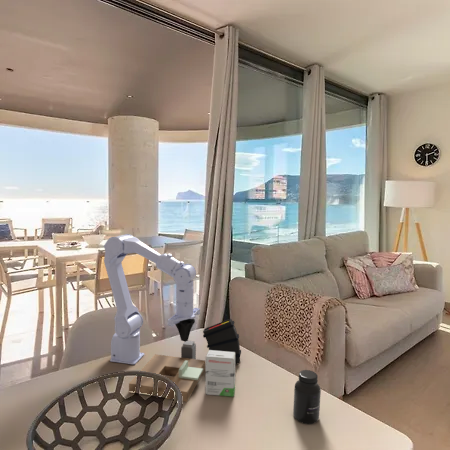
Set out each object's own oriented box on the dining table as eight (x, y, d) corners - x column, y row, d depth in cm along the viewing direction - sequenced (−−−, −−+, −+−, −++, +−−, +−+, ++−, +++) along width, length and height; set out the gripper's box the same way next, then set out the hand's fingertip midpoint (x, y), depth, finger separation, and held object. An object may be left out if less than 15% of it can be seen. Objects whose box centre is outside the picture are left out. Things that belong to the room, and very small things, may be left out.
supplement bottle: (314, 428, 89) (316, 384, 88) (289, 419, 93) (291, 376, 91) (322, 414, 95) (324, 372, 94) (298, 405, 98) (300, 365, 97)
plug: (181, 363, 121) (181, 344, 120) (184, 358, 125) (185, 339, 124) (192, 365, 120) (192, 345, 119) (195, 359, 124) (195, 340, 123)
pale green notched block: (178, 377, 106) (178, 369, 106) (185, 368, 112) (185, 360, 112) (197, 380, 105) (197, 372, 105) (203, 370, 111) (203, 362, 110)
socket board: (128, 393, 103) (128, 383, 103) (155, 362, 121) (155, 354, 121) (187, 401, 99) (187, 391, 99) (205, 369, 118) (205, 360, 117)
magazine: (248, 360, 121) (230, 321, 120) (214, 373, 123) (197, 334, 123) (249, 355, 124) (232, 317, 124) (216, 367, 127) (199, 330, 126)
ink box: (235, 388, 107) (236, 351, 105) (233, 397, 102) (234, 358, 101) (207, 385, 108) (208, 348, 107) (204, 394, 103) (205, 356, 102)
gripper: (179, 309, 108) (179, 351, 110) (207, 298, 120) (206, 336, 122) (162, 304, 112) (162, 345, 114) (191, 294, 124) (191, 331, 126)
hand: (184, 340), depth 118 cm, fingers closed
